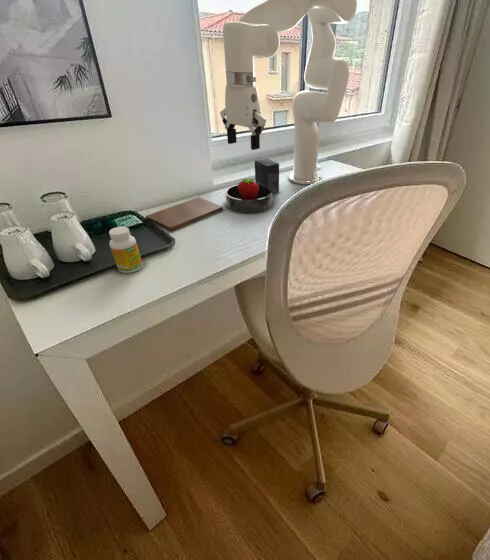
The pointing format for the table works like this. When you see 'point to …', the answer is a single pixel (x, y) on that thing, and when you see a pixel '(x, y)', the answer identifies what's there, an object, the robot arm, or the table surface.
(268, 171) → the box
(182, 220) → the cutting board
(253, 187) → the strawberry
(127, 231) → the supplement bottle
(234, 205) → the pan
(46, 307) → the table surface
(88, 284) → the table surface
